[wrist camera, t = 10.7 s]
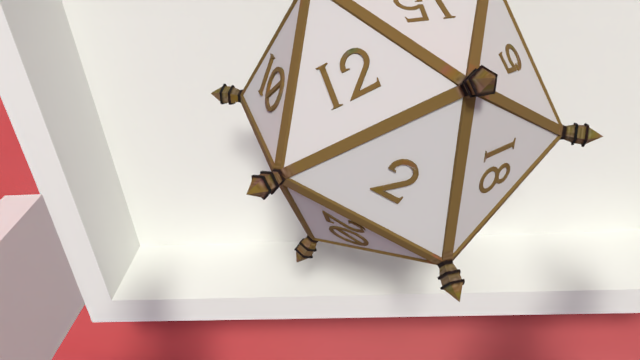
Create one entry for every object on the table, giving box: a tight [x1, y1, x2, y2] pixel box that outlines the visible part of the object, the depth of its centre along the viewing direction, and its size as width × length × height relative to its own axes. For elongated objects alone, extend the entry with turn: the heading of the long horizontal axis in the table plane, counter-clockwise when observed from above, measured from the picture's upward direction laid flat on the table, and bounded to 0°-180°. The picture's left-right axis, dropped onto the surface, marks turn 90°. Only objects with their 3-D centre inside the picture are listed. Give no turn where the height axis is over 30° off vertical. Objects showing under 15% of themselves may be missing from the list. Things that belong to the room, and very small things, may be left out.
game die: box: [211, 0, 603, 302], centre depth 15 cm, size 9×8×10 cm
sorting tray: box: [0, 0, 640, 322], centre depth 18 cm, size 16×21×4 cm
